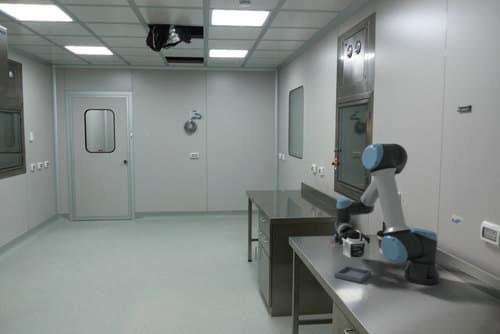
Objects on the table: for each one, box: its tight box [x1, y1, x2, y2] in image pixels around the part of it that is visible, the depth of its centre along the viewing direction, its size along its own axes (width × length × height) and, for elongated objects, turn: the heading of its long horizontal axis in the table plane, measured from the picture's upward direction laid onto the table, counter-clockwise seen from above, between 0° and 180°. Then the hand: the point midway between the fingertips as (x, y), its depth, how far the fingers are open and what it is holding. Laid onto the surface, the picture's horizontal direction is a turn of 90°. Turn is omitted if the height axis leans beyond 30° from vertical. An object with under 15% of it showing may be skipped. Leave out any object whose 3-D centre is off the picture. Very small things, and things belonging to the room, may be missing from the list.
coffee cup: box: [376, 229, 386, 256], centre depth 228 cm, size 11×11×12 cm
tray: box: [334, 265, 372, 285], centre depth 191 cm, size 13×13×2 cm
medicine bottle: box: [342, 229, 365, 259], centre depth 190 cm, size 7×7×12 cm
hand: (355, 244), depth 185 cm, fingers closed on medicine bottle, 9 cm apart
